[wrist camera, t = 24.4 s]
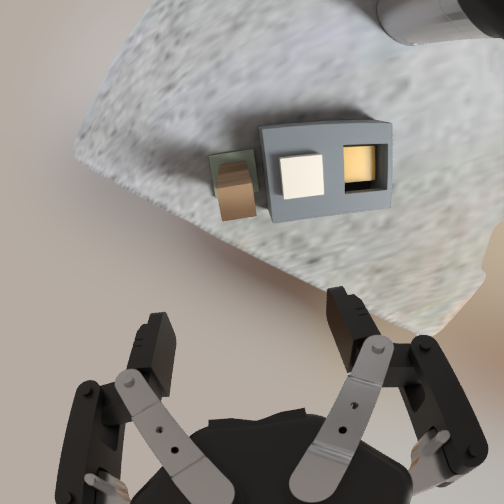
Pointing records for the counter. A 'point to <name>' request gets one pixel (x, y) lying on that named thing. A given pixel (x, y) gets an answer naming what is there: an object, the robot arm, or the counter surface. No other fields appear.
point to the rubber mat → (233, 158)
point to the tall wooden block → (235, 191)
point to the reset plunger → (359, 162)
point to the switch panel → (326, 166)
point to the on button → (301, 175)
